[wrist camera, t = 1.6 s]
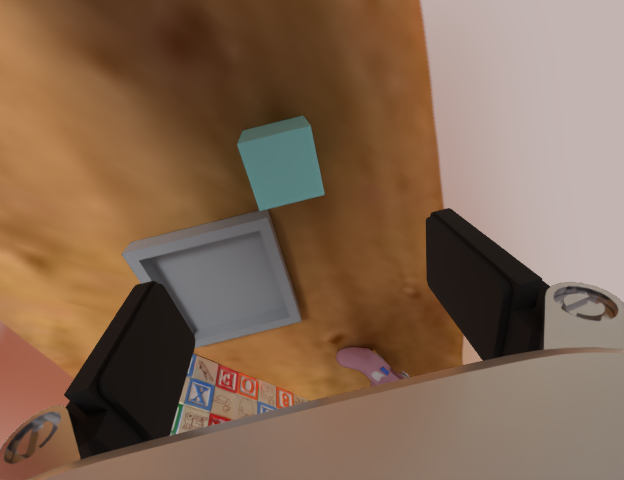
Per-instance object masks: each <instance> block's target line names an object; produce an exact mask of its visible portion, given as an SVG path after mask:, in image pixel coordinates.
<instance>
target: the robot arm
mask: <svg viewBox="0 0 624 480" xmlns="http://www.w3.org/2000/svg"><path fill="white" fill-rule="evenodd" d="M426 261H427V282H428V285H429V287H430V289H431V290H432V292H433V293H434V294H435V296H436V297H437V299H438V300H439V301H440V303H441V304H442V305H443V307H444V308H445V310H446V311H447V312H448V314H449V315H450V316H451V318H452V319H453V320H454V322H455V323H456V325H457V326H458V327H459V329H460V330H461V331H462V333H463V334H464V336H465V337H466V338H467V340H468V341H469V342H470V344H471V345H472V347H473V348H474V349H475V351H476V352H477V353H478V355H479V356H480V358H481V359H482V360H483V361H480V362H476V363H471V364H467V365H462V366H457V367H453V368H448V369H444V370H440V371H435V372H431V373H427V374H423V375H418V376H414V377H410V378H406V379H401V380H397V381H393V382H389V383H384V384H380V385H376V386H372V387H367V388H363V389H359V390H355V391H351V392H346V393H342V394H338V395H334V396H330V397H326V398H321V399H317V400H313V401H309V402H305V403H301V404H297V405H292V406H288V407H284V408H280V409H276V410H272V411H268V412H264V413H259V414H255V415H251V416H247V417H243V418H239V419H235V420H231V421H227V422H223V423H219V424H215V425H211V426H207V427H203V428H199V429H195V430H190V431H186V432H182V433H178V434H174V435H170V433H171V429H172V426H173V422H174V419H175V415H176V411H177V408H178V404H179V401H180V397H181V394H182V390H183V387H184V383H185V380H186V376H187V373H188V369H189V366H190V362H191V359H192V355H193V352H194V348H195V342H196V341H195V337H194V334H193V333H192V331H191V330H190V328H189V326H188V325H187V323H186V321H185V320H184V318H183V316H182V315H181V313H180V311H179V310H178V308H177V307H176V305H175V303H174V302H173V300H172V298H171V297H170V295H169V293H168V292H167V290H166V288H165V287H164V286H163V284H161V283H159V284H158V283H157V282H156V281H150V282H146V283H142V284H138V285H136V286H135V287H134V288H133V289H132V291H131V292H130V294H129V296H128V297H127V299H126V300H125V302H124V303H123V305H122V306H121V308H120V309H119V311H118V312H117V314H116V316H115V317H114V319H113V320H112V322H111V323H110V325H109V326H108V328H107V329H106V331H105V332H104V334H103V336H102V337H101V339H100V340H99V342H98V343H97V345H96V346H95V348H94V349H93V351H92V352H91V354H90V356H89V357H88V359H87V360H86V362H85V363H84V365H83V366H82V368H81V369H80V371H79V372H78V374H77V376H76V377H75V379H74V380H73V382H72V383H71V385H70V386H69V388H68V389H67V391H66V393H65V394H64V395H65V396H66V397H67V398H68V399H69V400H70V402H69V403H68V405H67V406H66V407H64V406H60V405H58V406H52V407H49V408H47V409H44V410H42V411H40V412H38V413H37V414H35V415H34V416H32V417H30V418H29V419H28V420H27V421H25V422H24V423H23V424H22V425H20V426H19V427H18V428H17V429H16V430H15V431H14V432H13V433H12V434H11V435H10V436H9V438H8V439H7V440H6V442H5V443H4V444H3V445H2V447H1V449H0V480H624V303H623V302H622V301H621V300H620V299H619V298H617V296H615V295H613V294H611V293H610V292H608V291H606V290H604V289H600V288H598V287H596V286H592V285H588V284H584V283H576V282H565V283H559V284H555V285H552V286H551V287H550V286H549V285H547V284H546V283H545V282H544V281H542V278H541V277H539V276H538V275H537V274H535V273H534V272H533V271H531V270H530V269H529V268H527V267H526V266H525V265H524V264H522V263H521V262H520V261H518V260H517V259H516V258H514V257H513V256H512V255H511V254H509V253H508V252H507V251H505V250H504V249H502V248H501V247H500V246H499V245H497V244H496V243H495V242H494V241H492V240H491V239H490V238H488V237H487V236H486V235H484V234H483V233H482V232H480V231H479V230H478V229H476V228H475V227H474V226H473V225H471V224H470V223H469V222H467V221H466V220H465V219H463V218H462V217H461V216H459V215H458V214H457V213H456V212H454V211H453V210H452V209H449V208H448V209H443V210H439V211H435V212H432V213H431V215H430V217H428V218H427V219H426Z"/></svg>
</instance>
